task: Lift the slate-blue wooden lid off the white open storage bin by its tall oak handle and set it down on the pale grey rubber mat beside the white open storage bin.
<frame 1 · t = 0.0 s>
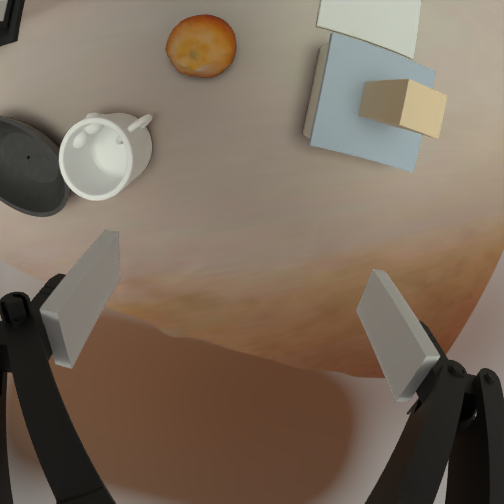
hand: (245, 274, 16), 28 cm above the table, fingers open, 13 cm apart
white open storage bin: (354, 101, 37), on the table
bowl: (34, 155, 39), on the table
fruit: (206, 50, 34), on the table
mug: (126, 139, 39), on the table
lid: (374, 103, 31), point 7 cm above the table, touching white open storage bin
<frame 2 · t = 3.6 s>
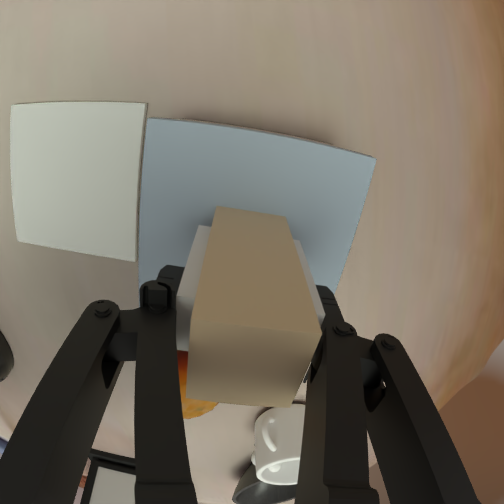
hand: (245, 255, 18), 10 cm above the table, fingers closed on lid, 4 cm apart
bowl: (276, 460, 48), on the table
fruit: (191, 363, 35), on the table
mug: (282, 414, 40), on the table
mat: (69, 178, 25), on the table
lid: (245, 235, 20), point 7 cm above the table, touching gripper, white open storage bin
lantern: (134, 472, 52), on the table
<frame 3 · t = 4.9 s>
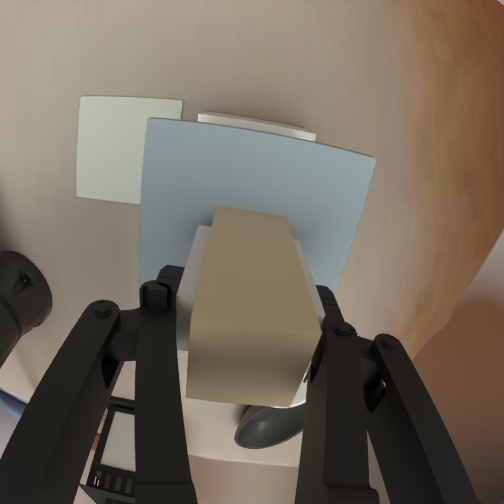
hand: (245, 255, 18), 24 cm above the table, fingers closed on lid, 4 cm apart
white open storage bin: (247, 165, 39), on the table
bowl: (273, 401, 61), on the table
mat: (124, 149, 37), on the table
lid: (245, 235, 20), point 21 cm above the table, touching gripper
lantern: (146, 421, 65), on the table
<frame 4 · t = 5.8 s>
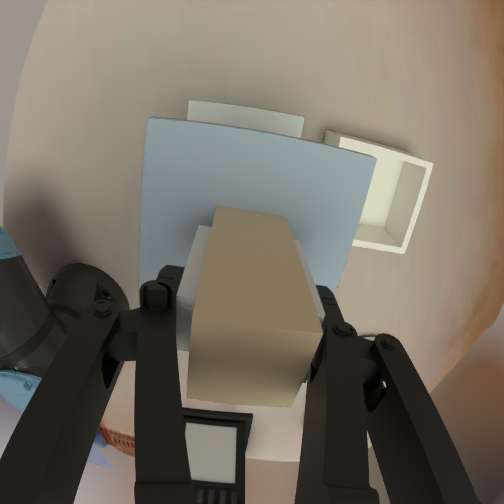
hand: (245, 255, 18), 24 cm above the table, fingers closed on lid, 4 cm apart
white open storage bin: (358, 183, 40), on the table
mat: (238, 161, 39), on the table
lid: (245, 235, 20), point 22 cm above the table, touching gripper
lantern: (212, 429, 66), on the table
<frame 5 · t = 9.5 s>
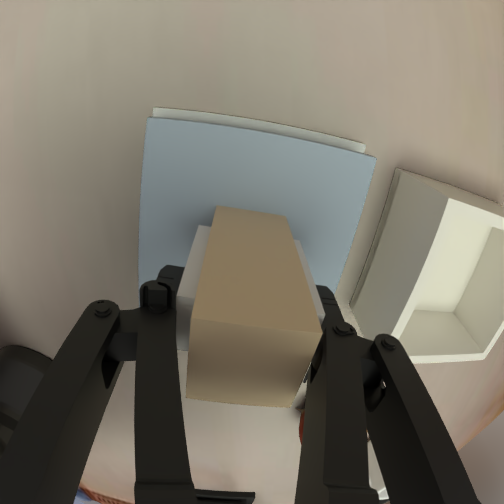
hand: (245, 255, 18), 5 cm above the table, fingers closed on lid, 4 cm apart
white open storage bin: (431, 252, 24), on the table
mug: (386, 435, 38), on the table
mat: (244, 220, 22), on the table
lid: (245, 235, 20), point 3 cm above the table, touching gripper
lantern: (207, 501, 49), on the table
when the fingers open (5 cm above the table, at t = 10.4 s): lid drops 1 cm, resting on mat.
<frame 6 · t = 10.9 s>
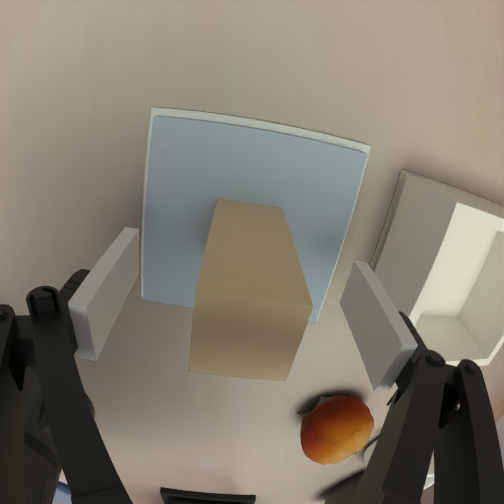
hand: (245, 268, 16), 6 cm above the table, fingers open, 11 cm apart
white open storage bin: (436, 256, 23), on the table
bowl: (361, 478, 45), on the table
fruit: (330, 406, 32), on the table
mug: (388, 438, 38), on the table
mat: (245, 223, 22), on the table
lid: (244, 226, 21), point 1 cm above the table, touching mat
lantern: (207, 503, 49), on the table
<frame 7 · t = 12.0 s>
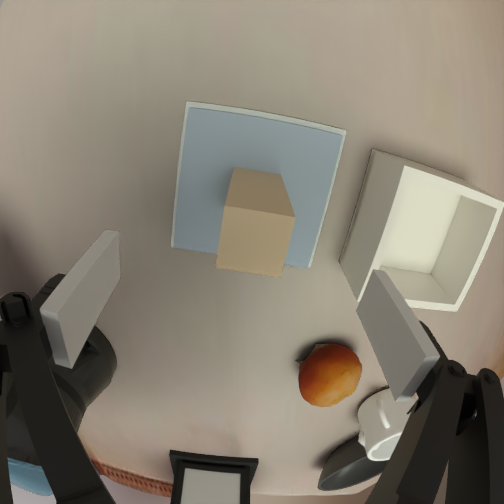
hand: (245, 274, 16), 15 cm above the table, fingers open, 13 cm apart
white open storage bin: (406, 219, 30), on the table
bowl: (357, 444, 52), on the table
fruit: (325, 356, 39), on the table
mug: (379, 398, 44), on the table
mat: (253, 187, 29), on the table
lid: (253, 189, 28), point 1 cm above the table, touching mat
lantern: (213, 470, 56), on the table
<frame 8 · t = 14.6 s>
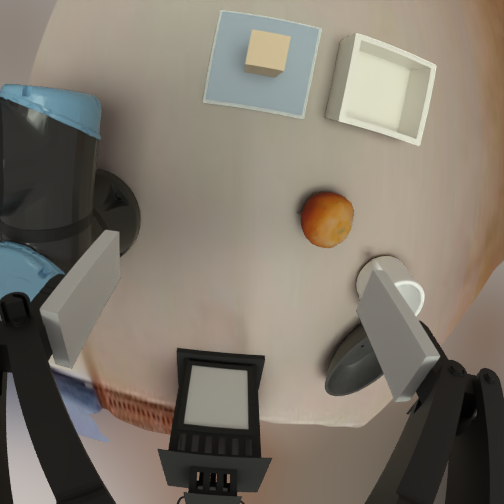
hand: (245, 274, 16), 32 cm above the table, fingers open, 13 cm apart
white open storage bin: (371, 90, 39), on the table
bowl: (360, 340, 61), on the table
fruit: (321, 210, 48), on the table
mug: (375, 272, 54), on the table
mat: (262, 62, 38), on the table
lid: (262, 61, 37), point 1 cm above the table, touching mat
lantern: (218, 379, 65), on the table
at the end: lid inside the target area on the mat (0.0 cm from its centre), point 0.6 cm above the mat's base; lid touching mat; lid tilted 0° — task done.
